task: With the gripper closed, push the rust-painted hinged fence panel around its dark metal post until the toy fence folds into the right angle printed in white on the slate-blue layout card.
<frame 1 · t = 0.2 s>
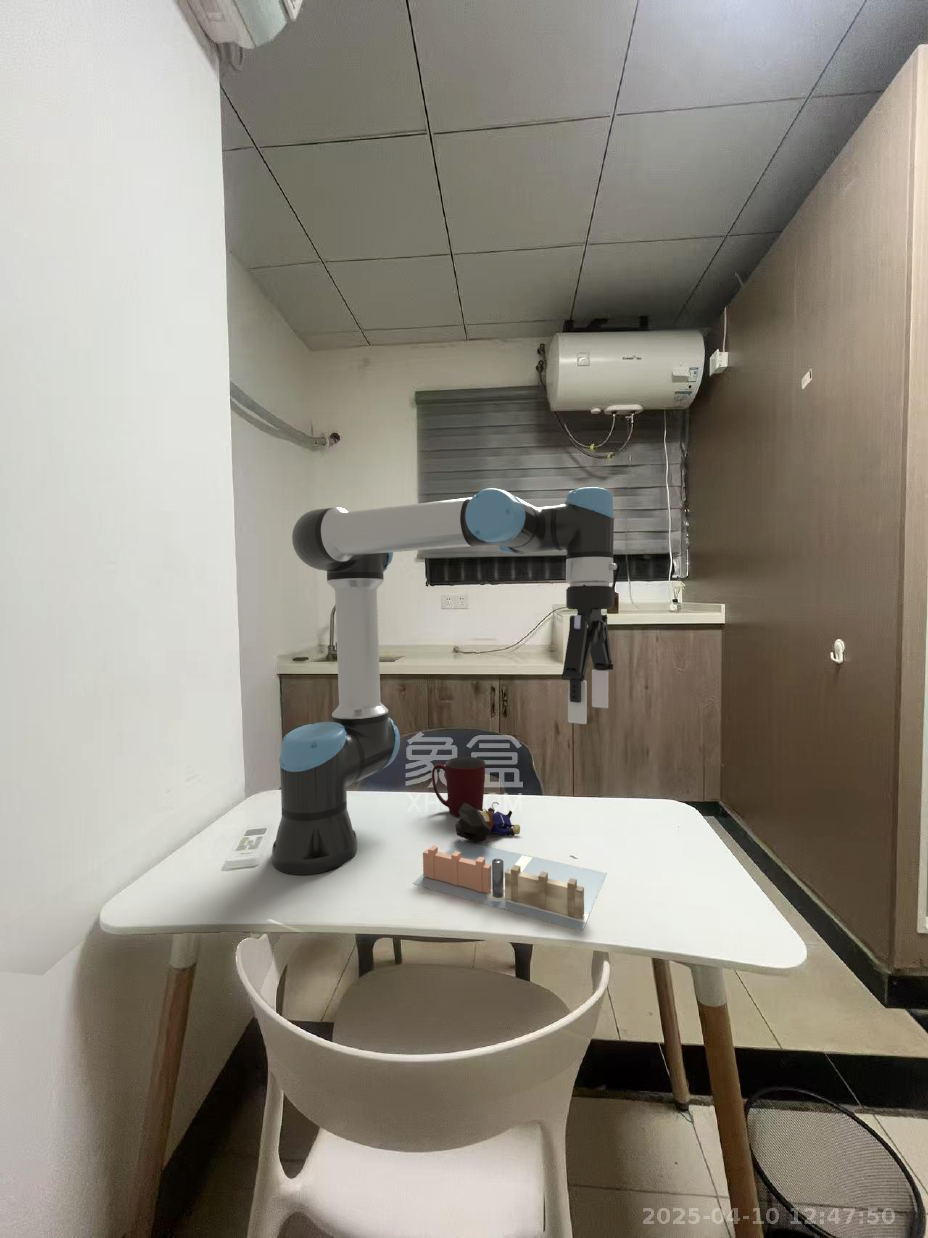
hand: (589, 714, 83), 28 cm above the table, fingers open, 13 cm apart
toy: (489, 835, 100), on the table, touching layout card
hinge post: (498, 896, 79), resting on layout card
mug: (458, 812, 113), on the table
fixed panel: (498, 895, 79), resting on layout card
swing panel: (456, 868, 82), point 3 cm above the table, hinge at 0.0°
layout card: (511, 879, 84), on the table
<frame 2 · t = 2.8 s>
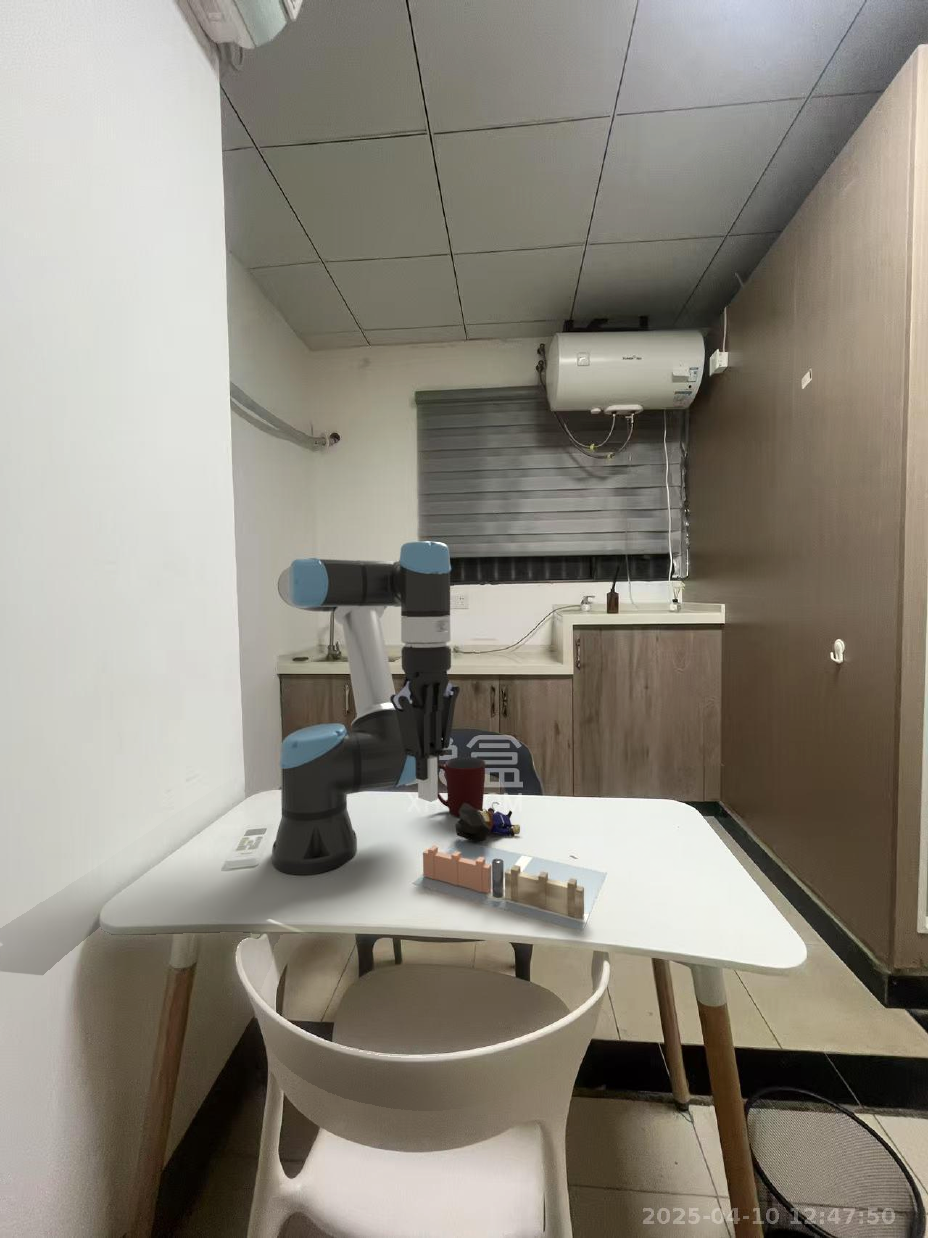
hand: (427, 798, 77), 16 cm above the table, fingers closed
nothing on the table moved.
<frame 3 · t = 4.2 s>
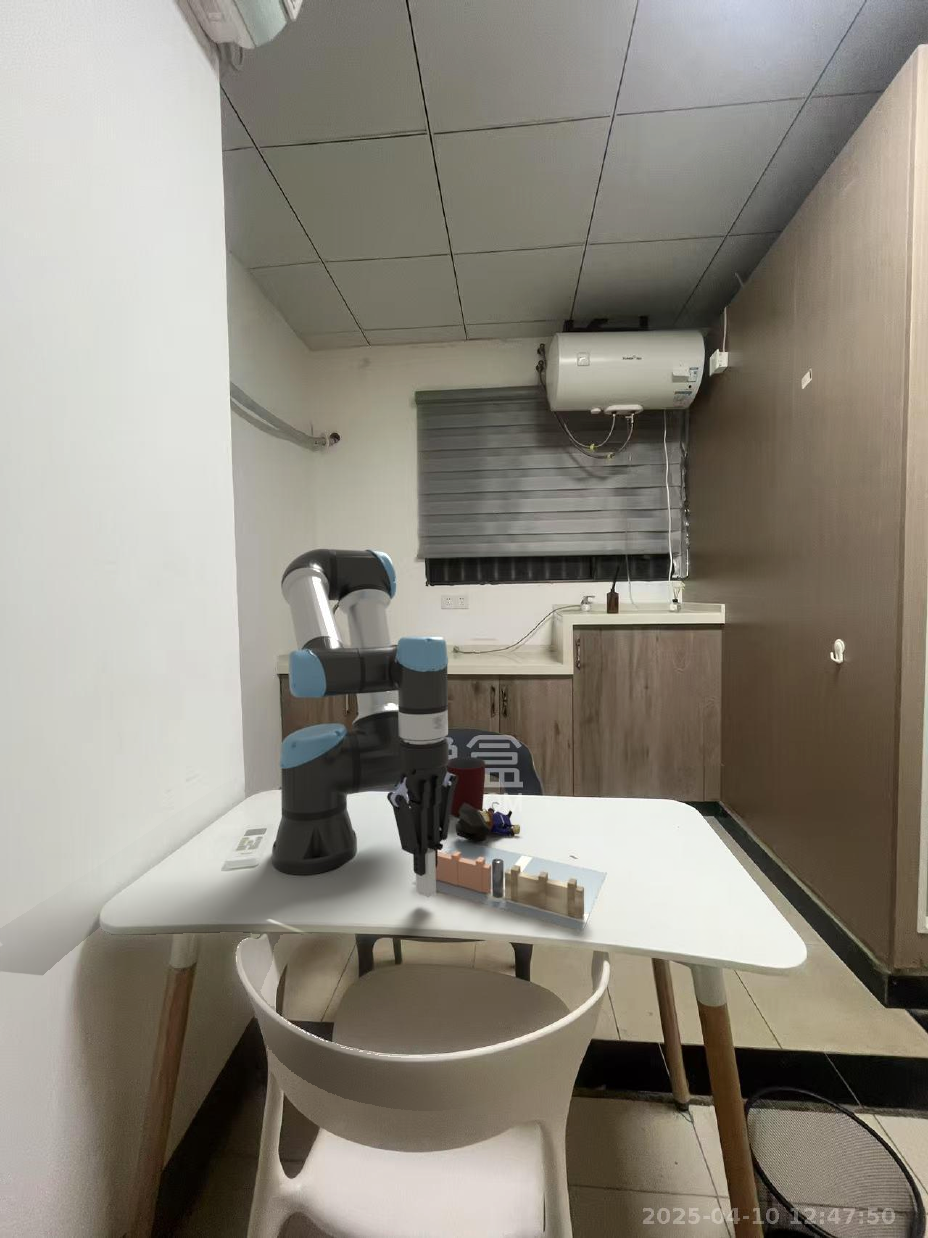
hand: (426, 892, 77), 2 cm above the table, fingers closed
nothing on the table moved.
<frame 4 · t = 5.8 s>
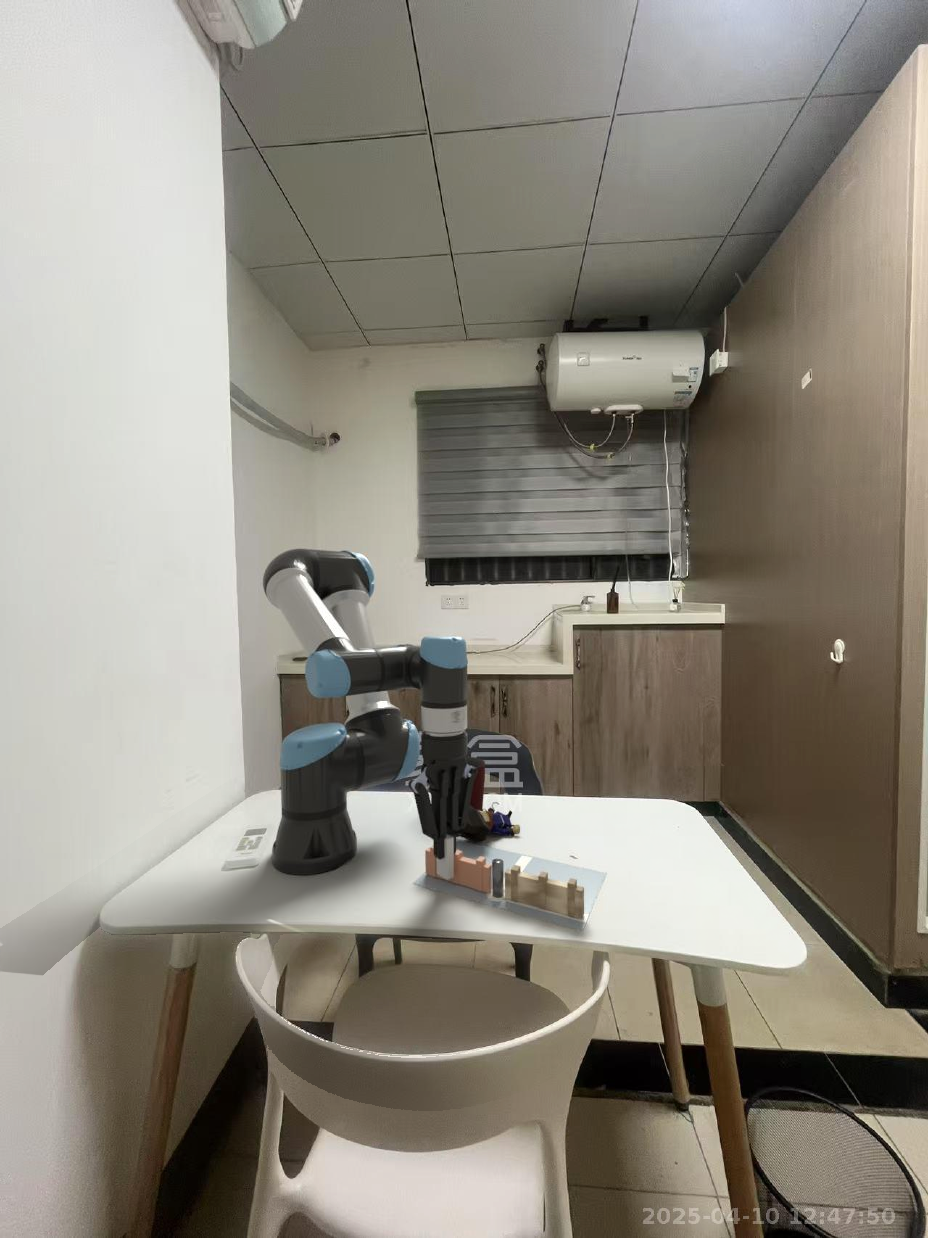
hand: (445, 875, 82), 2 cm above the table, fingers closed
swing panel: (457, 867, 83), point 3 cm above the table, hinge at 3.4°, touching gripper
everything else where it was.
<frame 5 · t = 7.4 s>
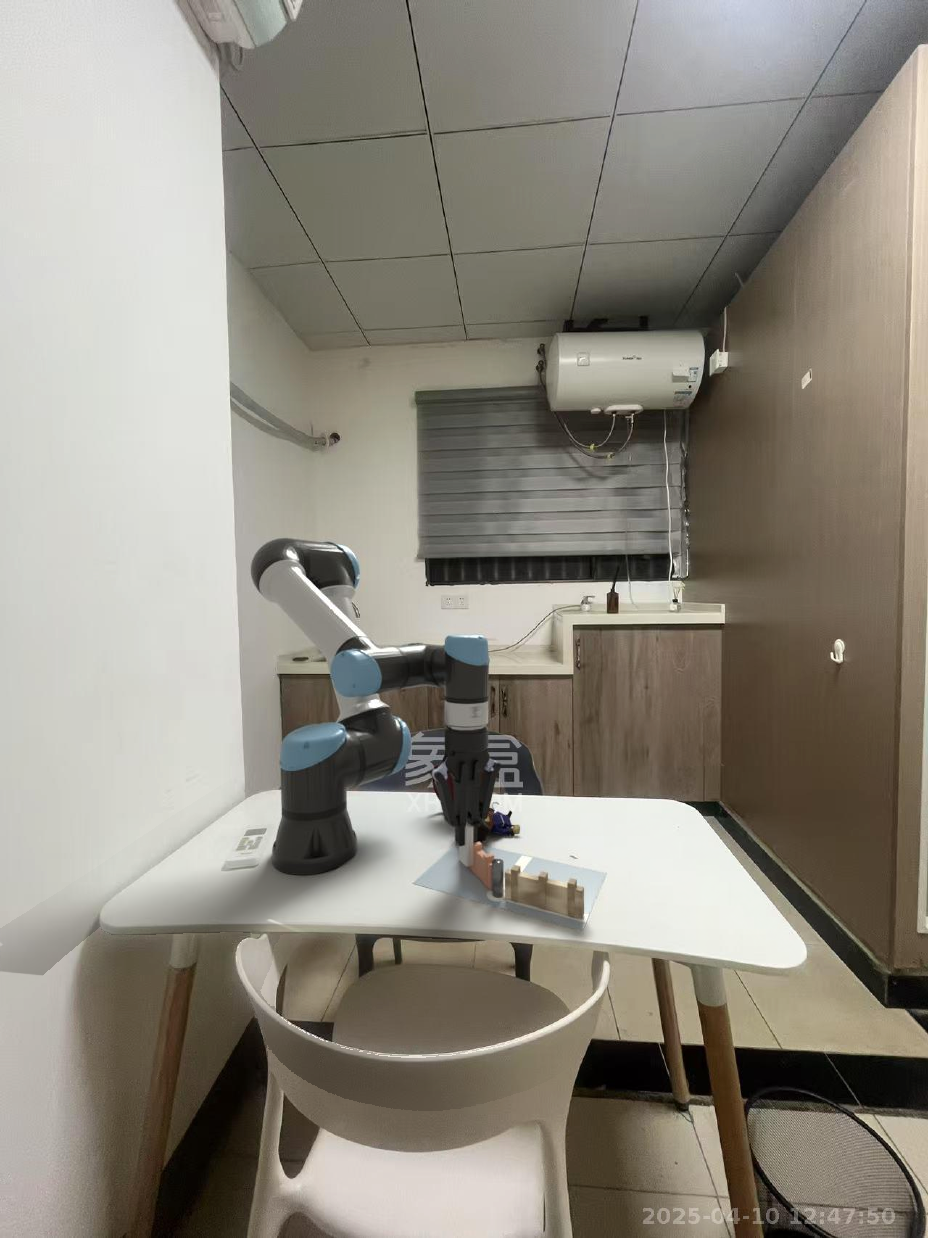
hand: (466, 862, 86), 2 cm above the table, fingers closed
swing panel: (476, 857, 86), point 3 cm above the table, hinge at 38.0°, touching gripper
everything else where it was.
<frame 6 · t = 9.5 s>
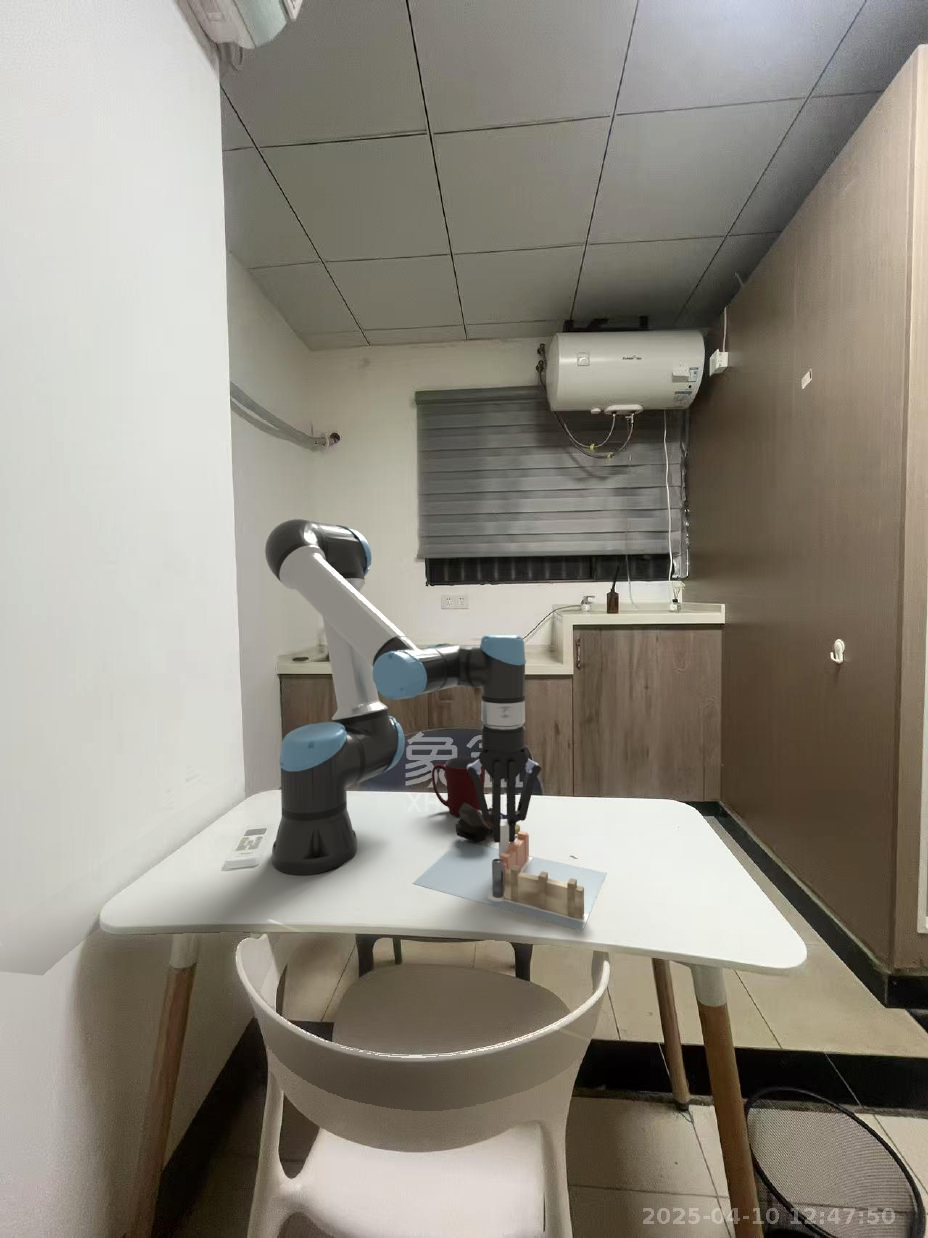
hand: (503, 859, 87), 2 cm above the table, fingers closed
swing panel: (514, 857, 86), point 3 cm above the table, hinge at 88.9°, touching gripper
everything else where it was.
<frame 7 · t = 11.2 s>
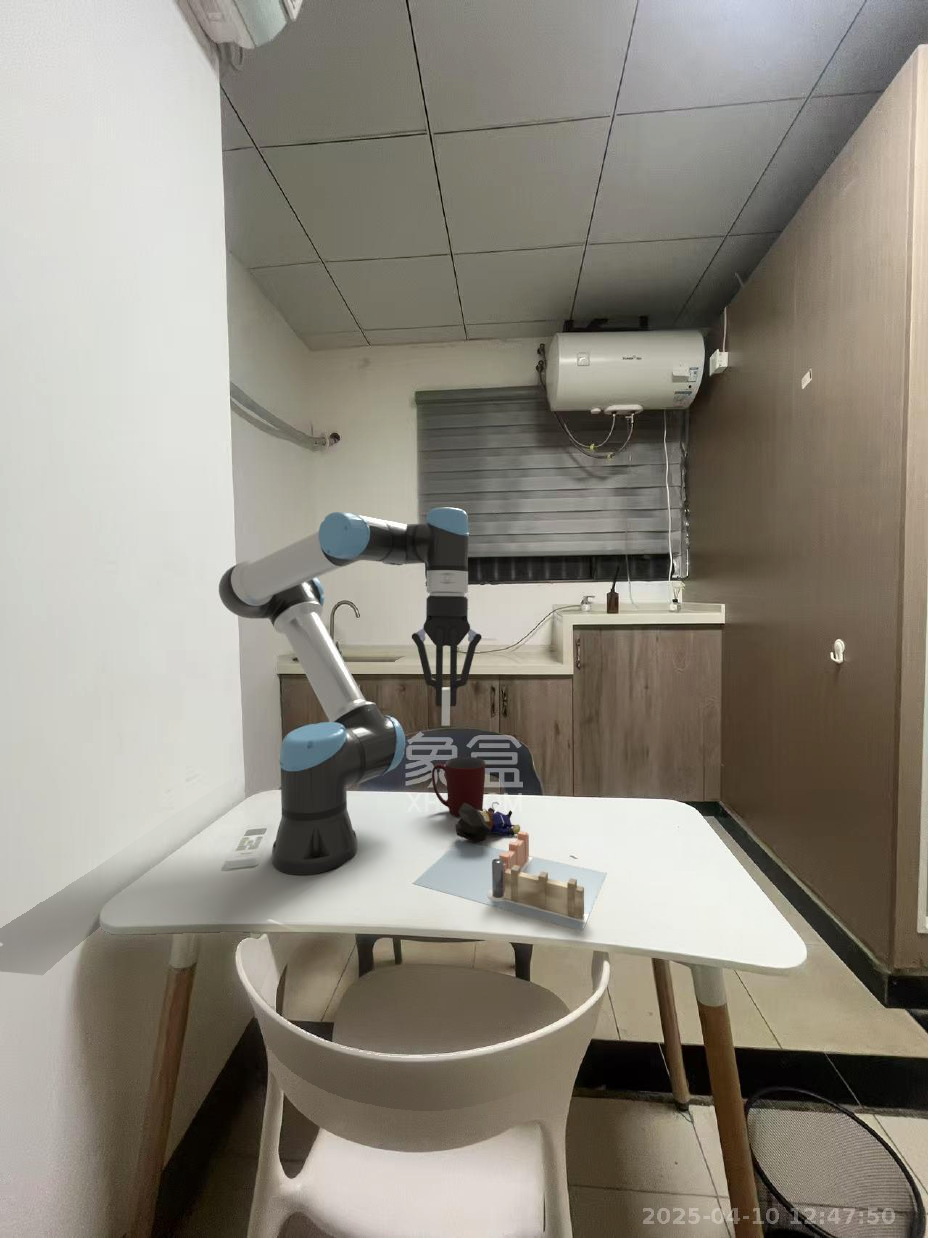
hand: (445, 723, 92), 24 cm above the table, fingers closed
swing panel: (514, 857, 86), point 3 cm above the table, hinge at 88.9°
everything else where it was.
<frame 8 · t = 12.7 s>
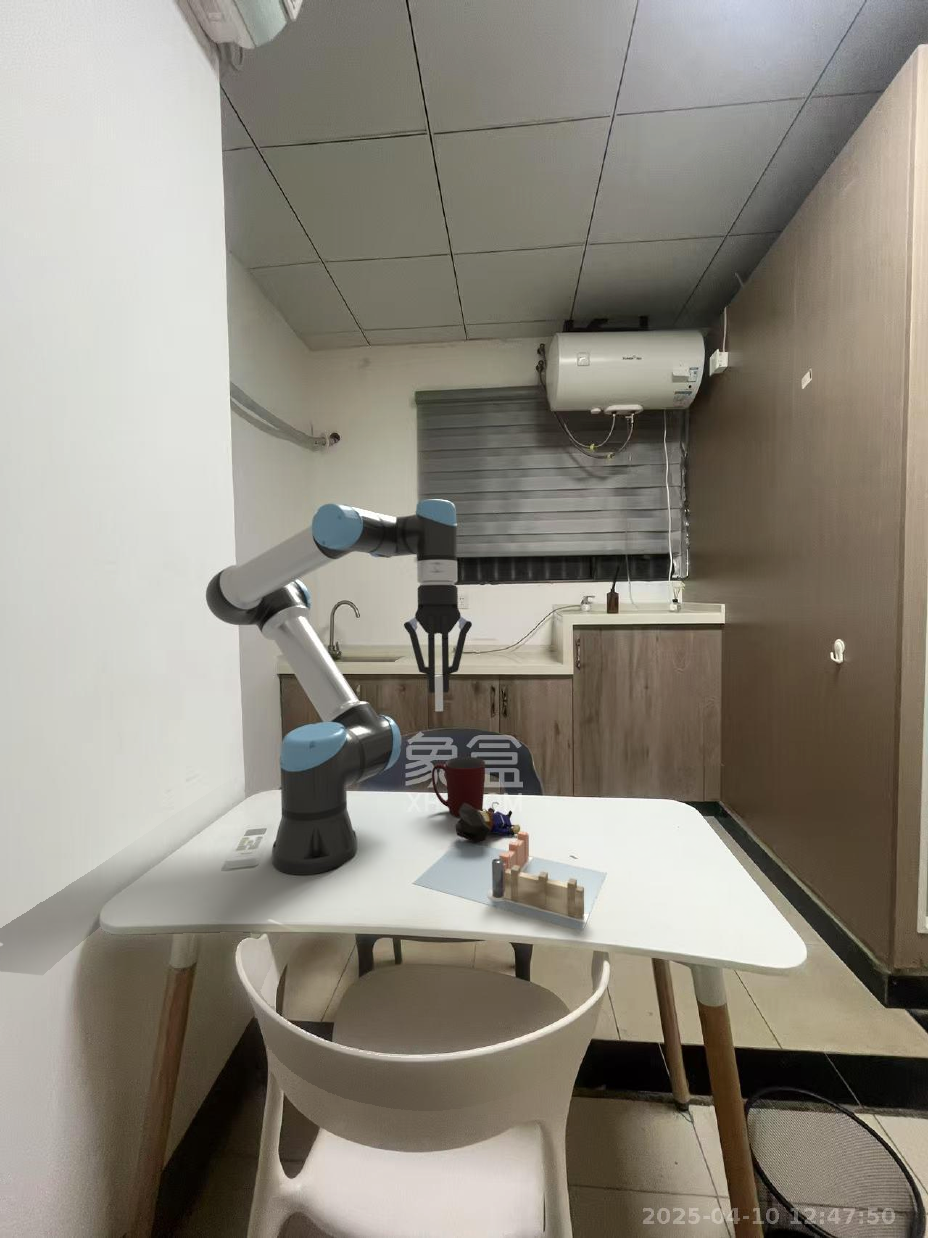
hand: (439, 709, 95), 26 cm above the table, fingers closed
nothing on the table moved.
at the end: swing panel at +89° (first picture: +0°) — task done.
